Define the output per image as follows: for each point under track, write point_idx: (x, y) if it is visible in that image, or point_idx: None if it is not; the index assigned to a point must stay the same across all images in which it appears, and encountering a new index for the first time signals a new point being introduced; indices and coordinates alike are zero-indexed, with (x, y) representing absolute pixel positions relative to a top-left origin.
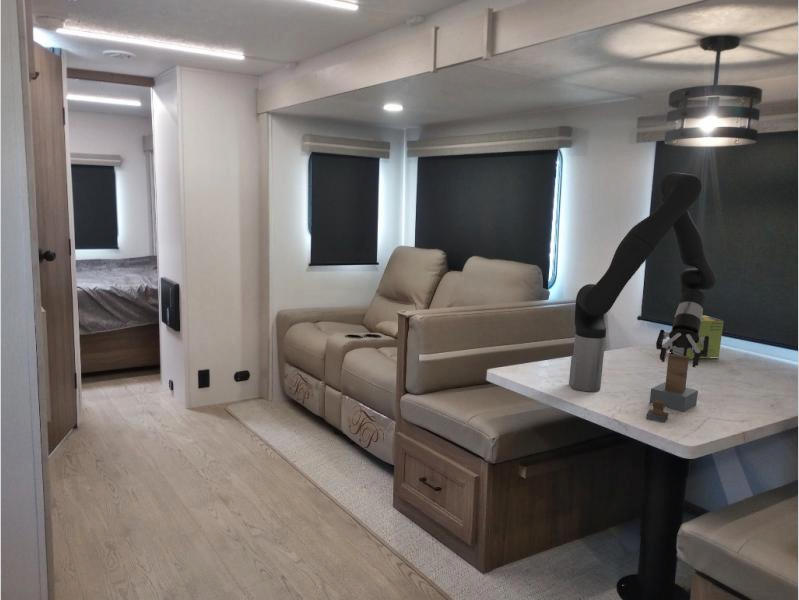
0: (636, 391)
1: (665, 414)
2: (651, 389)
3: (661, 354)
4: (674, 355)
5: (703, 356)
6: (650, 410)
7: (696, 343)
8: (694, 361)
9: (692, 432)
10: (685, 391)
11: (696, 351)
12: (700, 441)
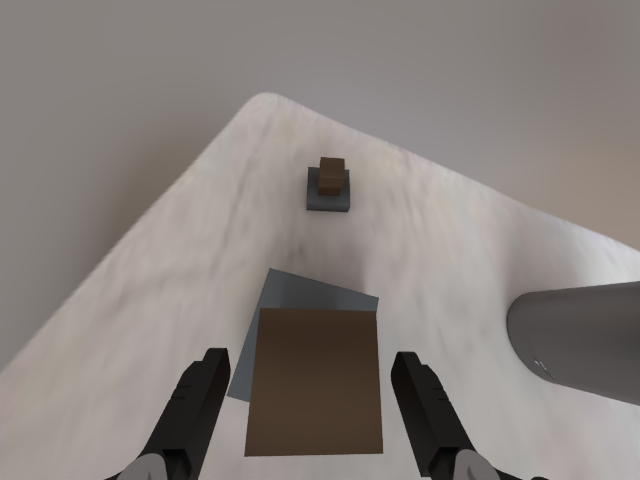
0: None
1: (311, 187)
2: (376, 297)
3: (434, 388)
4: (350, 406)
5: None
6: (346, 195)
7: None
8: (209, 360)
9: (253, 151)
10: None
11: (158, 477)
12: (239, 116)
